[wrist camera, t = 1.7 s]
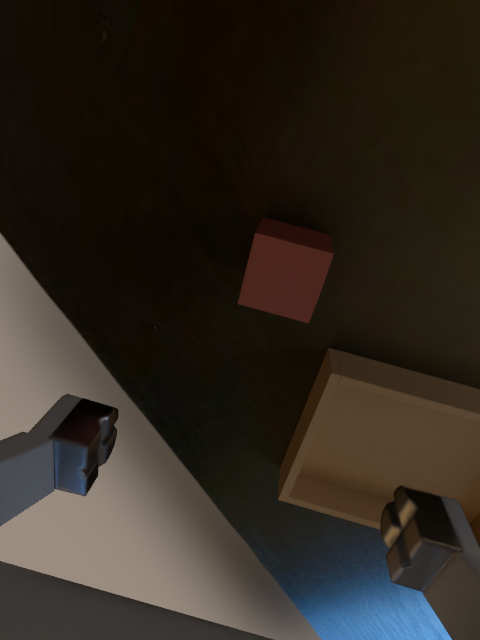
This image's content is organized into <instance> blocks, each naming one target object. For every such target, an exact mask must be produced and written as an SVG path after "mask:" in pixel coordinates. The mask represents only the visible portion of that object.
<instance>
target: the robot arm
mask: <svg viewBox="0 0 480 640" xmlns="http://www.w3.org/2000/svg"><path fill="white" fill-rule="evenodd" d="M117 419H118V409H117V408H114V407H111V406H108V405H104V404H101V403H98V402H94V401H90V400H87V399H83V398H79V397H76V396H73V395H70V394H66V395H64V396H62V397H61V398H60V399H59V400H58V401H57V402H56V404H54V406H53V407H52V408H51V409H50V410H49V411H48V412H47V413H46V414H45V415H44V416H43V417H42V418H41V420H40V421H39V422H38V423H37V424H36V425H35V426H34V427H33V428H32V429H31V430H30V431H29V432H28V433H26V432H21V433H18V434H16V435H13V436H11V437H9V438H6V439H3V440H1V441H0V526H1V525H3V524H4V523H6V522H7V521H9V520H10V519H12V518H14V517H15V516H17V515H18V514H20V513H21V512H23V511H24V510H26V509H27V508H29V507H30V506H32V505H33V504H35V503H36V502H38V501H39V500H41V499H43V498H44V497H45V496H47V495H49V494H50V493H52V492H53V491H54V489H58V490H62V491H66V492H70V493H74V494H78V495H82V496H86V495H87V493H88V491H89V490H90V488H91V487H92V485H93V483H94V482H95V480H96V478H97V477H98V467H99V466H101V465H103V464H105V463H106V461H107V460H108V458H109V456H110V454H111V452H112V449H113V447H114V445H115V440H116V436H117V429H116V428H115V426H114V424H115V423H116V421H117ZM393 496H394V500H395V501H392V502H390V503H388V504H386V506H385V508H384V510H383V511H382V515H381V521H380V530H381V536H382V540H383V541H384V542H385V544H386V545H387V546H388V548H389V551H388V553H387V555H386V560H387V565H388V569H389V574H390V579H391V582H393V583H396V584H399V585H402V586H405V587H409V588H412V589H415V590H418V591H422V592H424V593H423V595H424V596H425V598H426V599H427V601H428V602H429V604H430V606H431V607H432V609H433V610H434V612H435V613H436V615H437V616H438V618H439V620H440V621H441V623H442V624H443V626H444V627H445V629H446V631H447V632H448V634H449V635H450V637H451V638H452V640H480V548H479V545H478V543H477V541H476V539H475V536H474V534H473V532H472V530H471V527H470V525H469V523H468V521H467V518H466V516H465V514H464V512H463V510H462V507H461V505H460V503H459V502H458V501H457V500H456V499H452V498H448V497H444V496H441V495H435V494H433V493H429V492H425V491H421V490H417V489H414V488H410V487H406V486H402V485H400V486H399V487H397V488H396V490H395V491H394V493H393ZM0 640H273V639H270V638H266V637H263V636H259V635H256V634H252V633H249V632H245V631H242V630H238V629H235V628H231V627H228V626H224V625H221V624H217V623H214V622H210V621H207V620H203V619H200V618H196V617H193V616H189V615H186V614H182V613H179V612H176V611H172V610H169V609H165V608H162V607H158V606H155V605H151V604H148V603H144V602H141V601H137V600H134V599H130V598H127V597H123V596H120V595H116V594H113V593H109V592H106V591H102V590H99V589H95V588H92V587H88V586H85V585H82V584H78V583H74V582H71V581H67V580H64V579H61V578H57V577H54V576H50V575H47V574H43V573H40V572H36V571H33V570H29V569H26V568H22V567H19V566H15V565H12V564H8V563H5V562H1V561H0Z"/></svg>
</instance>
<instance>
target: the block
mask: <svg viewBox="0 0 480 640" xmlns="http://www.w3.org/2000/svg"><path fill="white" fill-rule="evenodd" d="M333 255H334V252H333V249H332V245H331V241H330V237H329V234H325V233H321V232H318V231H314V230H310V229H306V228H302V227H299V226H295V225H291V224H287V223H284V222H280V221H276V220H272V219H268V218H265V217H263V218H262V220H261V222H260V224H259V226H258V228H257V230H256V232H255V235H254V239H253V243H252V247H251V251H250V255H249V259H248V263H247V267H246V271H245V275H244V279H243V283H242V288H241V292H240V296H239V300H238V304H240V305H244V306H248V307H251V308H255V309H259V310H262V311H266V312H269V313H273V314H277V315H280V316H284V317H288V318H291V319H295V320H299V321H302V322H306V323H309V322H310V319H311V317H312V314H313V311H314V308H315V305H316V303H317V300H318V297H319V294H320V291H321V289H322V286H323V283H324V280H325V277H326V275H327V272H328V269H329V266H330V264H331V261H332V258H333Z"/></svg>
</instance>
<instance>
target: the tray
mask: <svg viewBox="0 0 480 640" xmlns="http://www.w3.org/2000/svg"><path fill="white" fill-rule="evenodd" d="M400 485H402V486H406V487H410V488H414V489H417V490H421V491H425V492H429V493H433V494H435V495H441V496H444V497H448V498H452V499H456V500H457V501H458V502H459V503H460V505H461V507H462V510H463V512H464V514H465V516H466V518H467V521H468V523H469V525H470V527H471V530H472V532H473V534H474V536H475V539H476V541H477V543H478V545H479V548H480V389H477V388H473V387H470V386H466V385H462V384H459V383H455V382H452V381H448V380H444V379H441V378H437V377H433V376H430V375H426V374H423V373H419V372H415V371H412V370H408V369H404V368H401V367H397V366H394V365H390V364H386V363H383V362H379V361H375V360H372V359H368V358H365V357H361V356H357V355H354V354H350V353H346V352H343V351H339V350H335V349H332V348H328V350H327V352H326V355H325V357H324V360H323V362H322V365H321V367H320V370H319V372H318V375H317V377H316V380H315V382H314V385H313V387H312V390H311V392H310V395H309V397H308V400H307V402H306V405H305V407H304V410H303V412H302V415H301V417H300V420H299V422H298V425H297V427H296V430H295V432H294V435H293V437H292V439H291V442H290V444H289V447H288V449H287V452H286V454H285V457H284V459H283V462H282V464H281V467H280V477H279V491H278V500H281V501H284V502H288V503H291V504H294V505H298V506H301V507H305V508H308V509H312V510H315V511H318V512H322V513H325V514H329V515H332V516H336V517H339V518H342V519H346V520H349V521H353V522H356V523H360V524H363V525H367V526H370V527H373V528H377V529H380V521H381V515H382V511H383V510H384V508H385V506H386V504H388V503H390V502H392V501H395V500H394V496H393V493H394V491H395V490H396V488H397V487H399V486H400Z"/></svg>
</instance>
